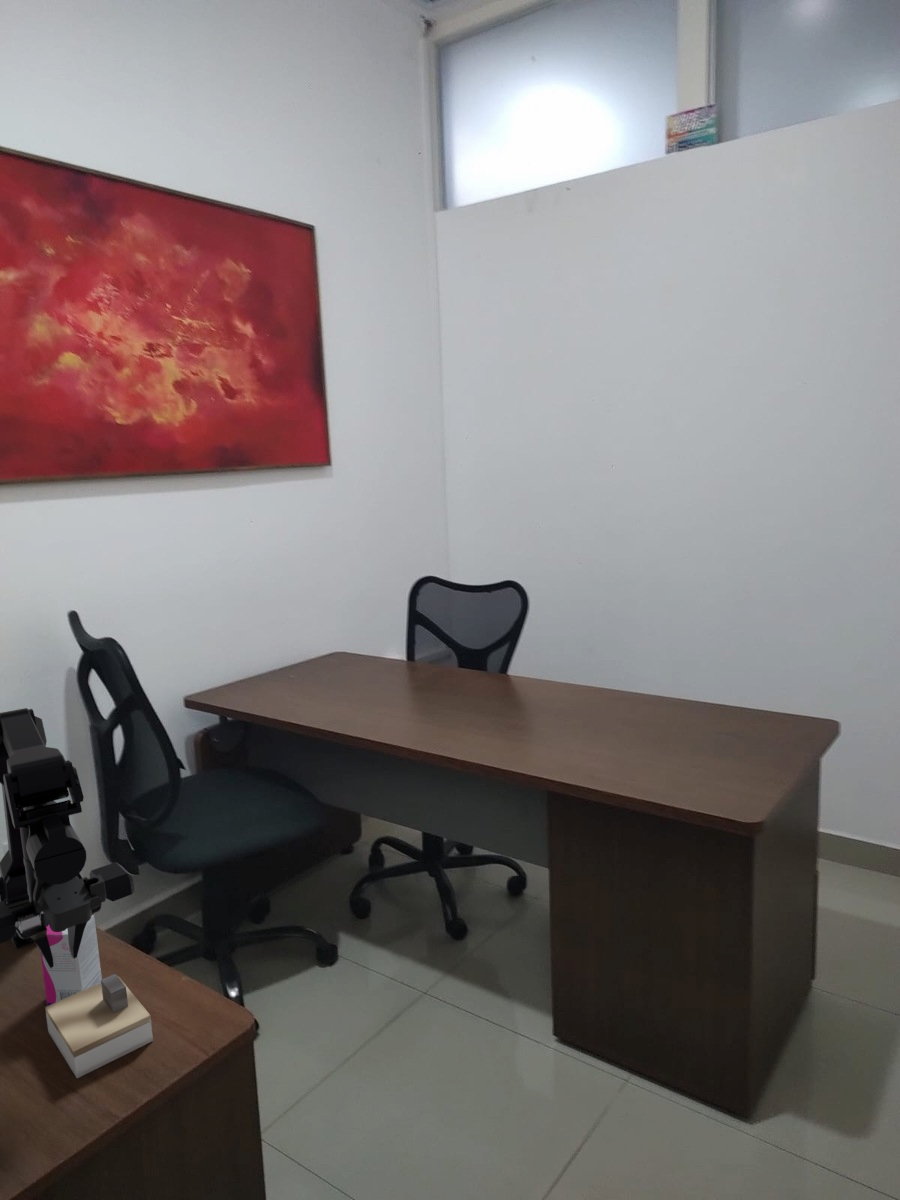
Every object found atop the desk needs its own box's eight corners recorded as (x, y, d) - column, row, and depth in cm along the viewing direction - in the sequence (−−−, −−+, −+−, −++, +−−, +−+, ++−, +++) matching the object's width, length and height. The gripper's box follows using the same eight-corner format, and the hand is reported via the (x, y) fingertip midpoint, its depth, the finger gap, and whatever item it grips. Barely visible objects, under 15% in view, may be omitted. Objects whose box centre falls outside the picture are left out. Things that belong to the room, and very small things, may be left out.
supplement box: (104, 982, 127) (95, 913, 125) (83, 1008, 121) (74, 936, 119) (67, 981, 127) (59, 912, 125) (45, 1007, 121) (35, 935, 119)
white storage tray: (48, 1032, 116) (45, 1012, 116) (120, 999, 123) (118, 981, 122) (76, 1078, 107) (74, 1057, 107) (153, 1040, 114) (150, 1021, 113)
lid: (45, 1012, 116) (42, 987, 115) (118, 980, 122) (115, 957, 121) (74, 1057, 107) (70, 1030, 106) (150, 1020, 113) (148, 995, 112)
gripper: (-17, 902, 95) (1, 1024, 98) (144, 848, 108) (156, 958, 110) (-39, 868, 104) (-22, 982, 107) (113, 821, 116) (124, 924, 119)
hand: (62, 961), depth 110 cm, fingers open, 3 cm apart
